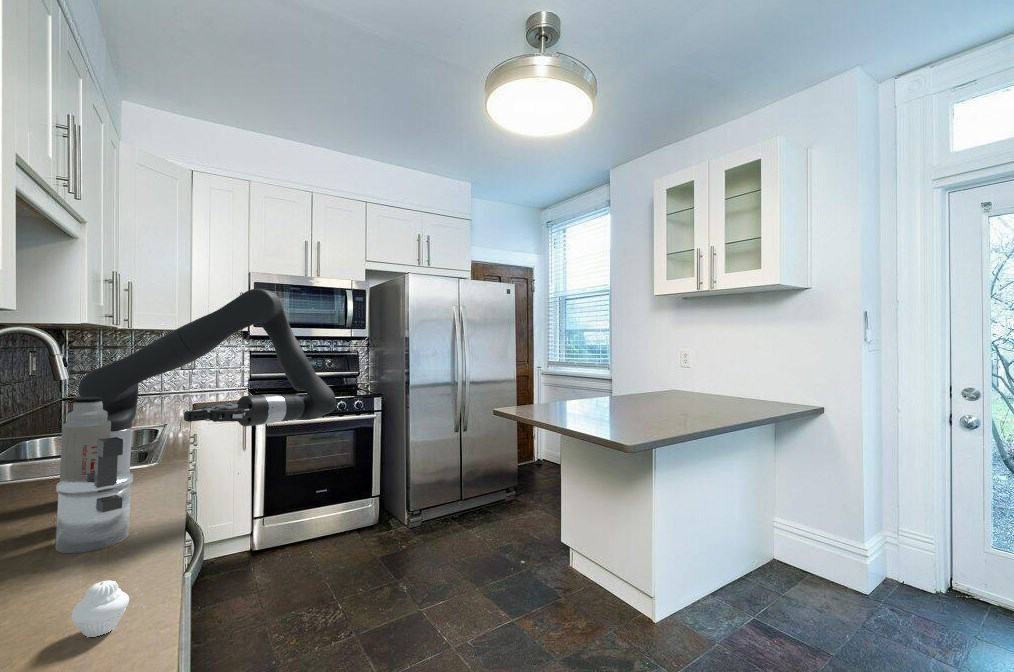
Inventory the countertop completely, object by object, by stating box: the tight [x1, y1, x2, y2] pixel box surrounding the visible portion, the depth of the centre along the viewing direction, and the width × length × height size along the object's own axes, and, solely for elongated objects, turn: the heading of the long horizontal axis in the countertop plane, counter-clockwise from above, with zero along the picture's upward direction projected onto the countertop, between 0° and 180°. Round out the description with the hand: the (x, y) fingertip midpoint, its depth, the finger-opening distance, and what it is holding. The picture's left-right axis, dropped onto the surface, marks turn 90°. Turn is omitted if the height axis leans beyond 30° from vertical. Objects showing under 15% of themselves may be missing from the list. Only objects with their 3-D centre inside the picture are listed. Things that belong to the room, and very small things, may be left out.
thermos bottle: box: [59, 397, 111, 482], centre depth 101 cm, size 8×8×28 cm
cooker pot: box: [55, 483, 132, 554], centre depth 92 cm, size 14×11×11 cm
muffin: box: [71, 580, 130, 638], centre depth 65 cm, size 6×6×7 cm
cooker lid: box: [55, 437, 134, 495], centre depth 93 cm, size 14×12×10 cm
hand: (185, 416), depth 102 cm, fingers closed
